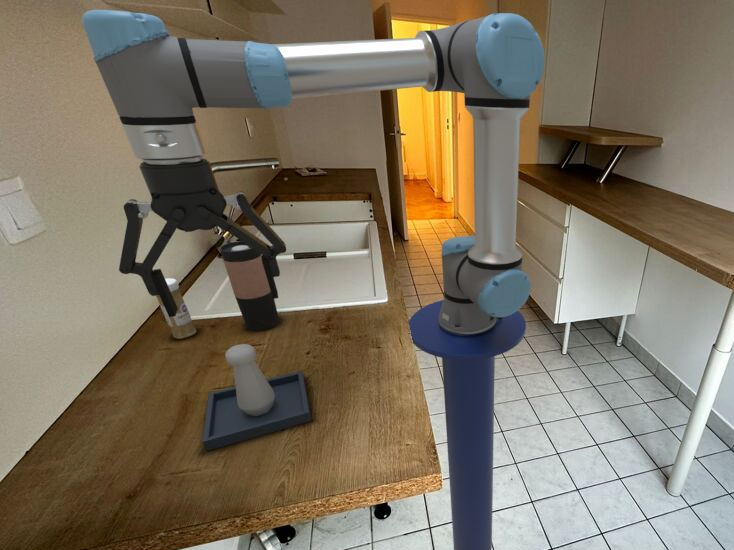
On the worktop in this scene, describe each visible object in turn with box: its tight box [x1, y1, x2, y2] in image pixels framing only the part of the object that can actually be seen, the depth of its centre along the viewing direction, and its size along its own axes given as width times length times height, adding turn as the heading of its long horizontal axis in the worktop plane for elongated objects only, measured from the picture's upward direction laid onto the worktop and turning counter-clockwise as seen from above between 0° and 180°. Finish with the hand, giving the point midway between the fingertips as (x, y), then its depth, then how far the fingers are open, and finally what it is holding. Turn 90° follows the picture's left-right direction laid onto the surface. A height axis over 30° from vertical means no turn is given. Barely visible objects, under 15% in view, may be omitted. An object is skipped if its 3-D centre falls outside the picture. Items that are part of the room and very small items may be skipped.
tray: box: [202, 370, 312, 452], centre depth 74 cm, size 16×14×2 cm
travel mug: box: [219, 240, 280, 332], centre depth 97 cm, size 8×8×20 cm
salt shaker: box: [224, 343, 275, 416], centre depth 71 cm, size 6×6×13 cm
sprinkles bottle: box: [155, 277, 197, 340], centre depth 93 cm, size 5×5×13 cm
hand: (226, 303), depth 64 cm, fingers open, 13 cm apart
